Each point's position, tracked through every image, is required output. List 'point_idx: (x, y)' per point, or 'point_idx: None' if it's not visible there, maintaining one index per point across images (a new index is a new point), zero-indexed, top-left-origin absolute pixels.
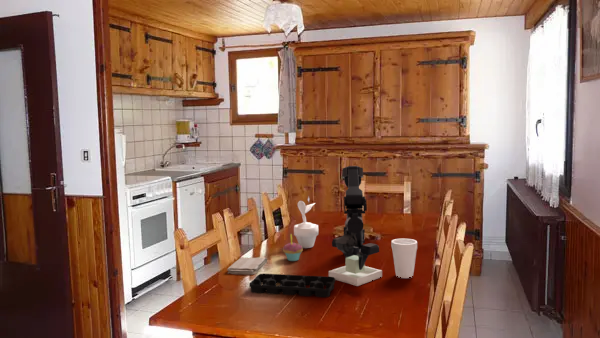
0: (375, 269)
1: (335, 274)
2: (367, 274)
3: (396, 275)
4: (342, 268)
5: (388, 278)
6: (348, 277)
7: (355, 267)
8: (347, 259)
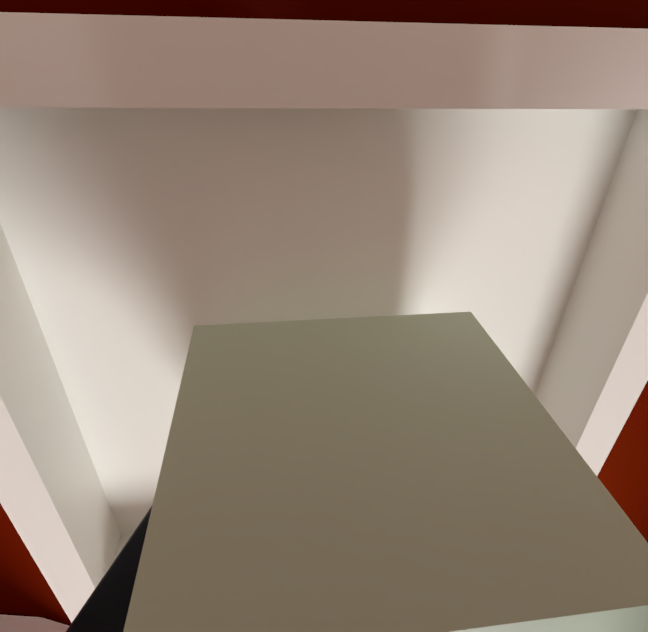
0: None
1: (582, 28)
2: (11, 434)
3: (30, 625)
4: (596, 376)
5: (13, 551)
6: (116, 18)
7: (176, 424)
8: (556, 565)
